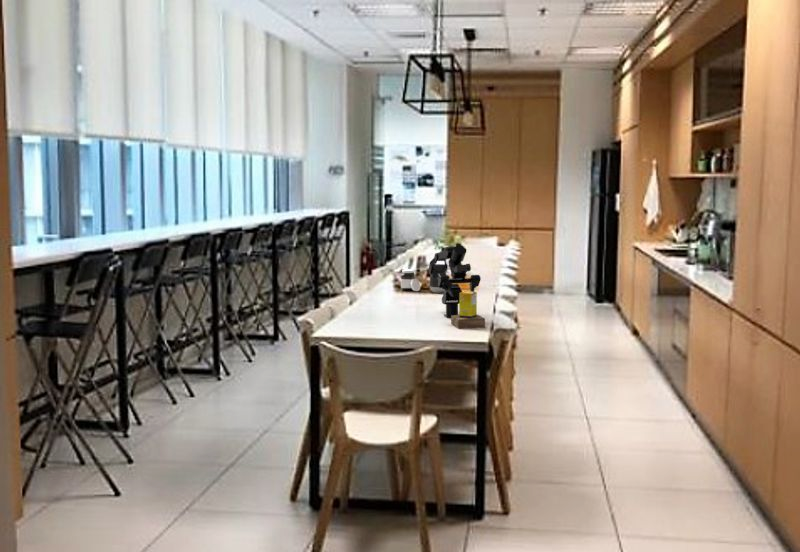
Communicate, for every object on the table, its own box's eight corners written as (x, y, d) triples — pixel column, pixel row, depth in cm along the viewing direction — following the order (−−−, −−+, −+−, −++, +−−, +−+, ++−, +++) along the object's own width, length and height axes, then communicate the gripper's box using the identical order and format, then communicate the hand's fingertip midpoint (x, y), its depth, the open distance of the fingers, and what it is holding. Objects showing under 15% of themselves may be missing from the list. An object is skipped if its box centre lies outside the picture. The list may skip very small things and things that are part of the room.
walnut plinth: (451, 324, 411) (451, 315, 410) (476, 323, 413) (476, 314, 413) (458, 328, 399) (458, 319, 398) (484, 327, 401) (484, 318, 401)
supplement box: (464, 315, 410) (464, 290, 408) (476, 316, 407) (477, 291, 406) (458, 317, 405) (458, 292, 403) (471, 318, 402) (471, 293, 400)
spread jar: (404, 288, 531) (403, 268, 530) (423, 289, 528) (423, 269, 527) (398, 291, 520) (398, 271, 518) (417, 292, 517) (417, 271, 515)
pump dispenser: (426, 293, 512) (426, 265, 510) (433, 290, 522) (433, 264, 520) (443, 294, 508) (443, 266, 506) (450, 291, 518) (450, 264, 516)
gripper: (439, 258, 414) (446, 285, 404) (479, 257, 418) (486, 284, 408) (435, 273, 422) (441, 300, 413) (474, 272, 426) (481, 299, 417)
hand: (462, 296), depth 412 cm, fingers open, 9 cm apart
